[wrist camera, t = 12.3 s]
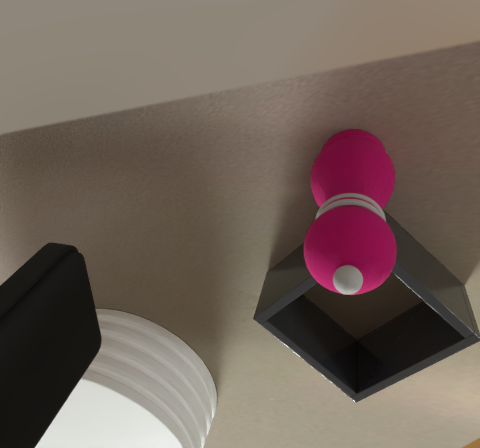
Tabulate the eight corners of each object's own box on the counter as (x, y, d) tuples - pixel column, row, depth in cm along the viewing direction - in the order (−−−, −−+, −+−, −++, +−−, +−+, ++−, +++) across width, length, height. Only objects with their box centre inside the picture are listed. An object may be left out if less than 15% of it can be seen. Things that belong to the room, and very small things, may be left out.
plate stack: (140, 283, 58) (96, 348, 48) (252, 422, 67) (234, 501, 57) (10, 338, 70) (-46, 399, 60) (120, 449, 79) (86, 517, 69)
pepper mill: (314, 124, 42) (283, 233, 25) (395, 123, 40) (420, 239, 24) (314, 193, 46) (288, 329, 29) (389, 195, 44) (406, 340, 27)
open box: (365, 192, 44) (366, 234, 38) (464, 285, 47) (482, 340, 40) (266, 272, 52) (252, 319, 45) (356, 348, 55) (356, 403, 48)
